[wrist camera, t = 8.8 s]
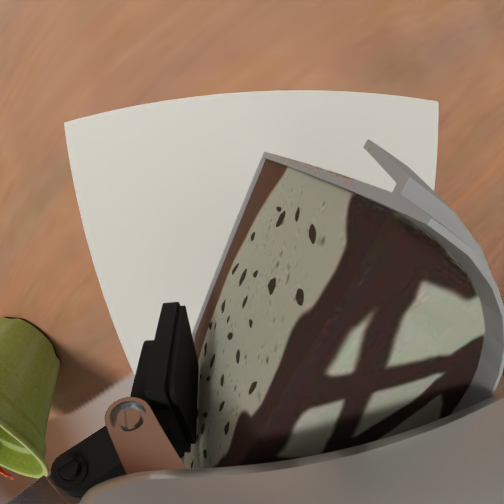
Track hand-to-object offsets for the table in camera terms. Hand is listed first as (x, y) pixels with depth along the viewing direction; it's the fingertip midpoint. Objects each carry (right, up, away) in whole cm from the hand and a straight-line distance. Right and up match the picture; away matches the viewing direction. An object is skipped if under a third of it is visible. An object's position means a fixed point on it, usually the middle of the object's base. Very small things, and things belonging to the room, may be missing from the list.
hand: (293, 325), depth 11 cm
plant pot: (-18, -4, +7) cm, 20 cm away
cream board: (-1, +3, +5) cm, 6 cm away
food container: (0, +2, +3) cm, 4 cm away
